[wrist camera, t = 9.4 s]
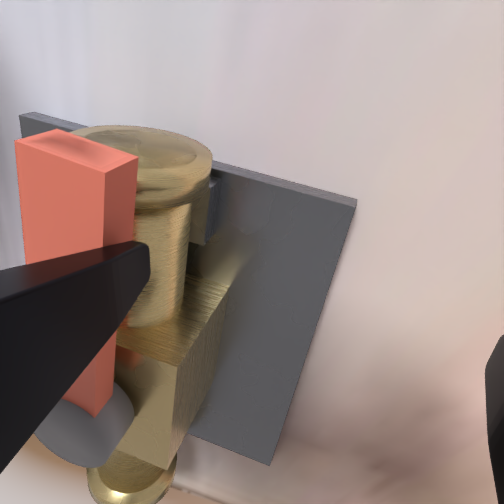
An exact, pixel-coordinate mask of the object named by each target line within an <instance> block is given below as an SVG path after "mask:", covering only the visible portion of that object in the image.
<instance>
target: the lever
mask: <svg viewBox="0 0 504 504" xmlns="http://www.w3.org/2000/svg"><path fill="white" fill-rule="evenodd" d="M14 142H15V153H16V164H17V174H18V185H19V196H20V207H21V218H22V228H23V239H24V250H25V261H26V264H31V263H35V262H39V261H44V260H48V259H52V258H57V257H61V256H65V255H70V254H74V253H79V252H83V251H87V250H92V249H96V248H100V247H105V246H109V245H114V244H118V243H122V242H127V241H131V240H132V237H133V224H134V211H135V198H136V185H137V173H138V160H139V157H138V156H135V155H132V154H129V153H126V152H123V151H120V150H117V149H115V148H112V147H109V146H106V145H103V144H100V143H97V142H94V141H91V140H89V139H86V138H83V137H80V136H77V135H74V134H71V133H68V132H65V131H62V130H60V129H55V130H51V131H47V132H44V133H40V134H37V135H33V136H29V137H26V138H22V139H19V140H15V141H14ZM116 333H117V330H116V331H115V333H114V334H113V335H112V336H111V338H110V339H109V340H108V341H107V343H106V344H105V345H104V346H103V348H102V349H101V350H100V351H99V352H98V354H97V355H96V356H95V357H94V359H93V360H92V361H91V362H90V364H89V365H88V366H87V367H86V369H85V370H84V371H83V372H82V373H81V375H80V376H79V377H78V378H77V380H76V381H75V382H74V383H73V385H72V386H71V387H70V388H69V390H68V391H67V392H66V393H65V395H64V396H63V397H62V398H61V399H60V401H59V402H58V403H57V404H56V406H55V407H54V408H53V409H52V411H51V412H50V413H49V414H48V416H47V417H46V418H45V419H44V420H43V422H42V423H41V424H40V425H39V427H38V428H37V429H36V430H35V432H34V434H35V435H36V437H37V438H38V439H39V440H40V441H41V442H42V443H43V444H44V445H45V446H46V447H47V448H48V449H49V450H50V451H52V452H53V453H54V454H56V455H57V456H59V457H61V458H62V459H64V460H66V461H68V462H70V463H72V464H75V465H78V466H82V467H87V468H96V467H100V466H102V465H104V464H105V463H106V461H107V460H108V458H109V457H110V455H111V454H112V452H113V451H114V449H115V448H116V447H117V445H118V444H119V442H120V441H121V439H122V438H123V436H124V435H125V433H126V432H127V430H128V429H129V427H130V426H131V424H132V422H133V420H134V408H133V405H132V403H131V401H130V399H129V397H128V396H127V395H126V393H125V392H124V391H123V390H122V388H121V387H120V386H118V385H117V384H116V383H115V382H114V365H115V349H116Z"/></svg>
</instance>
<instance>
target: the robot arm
mask: <svg viewBox="0 0 504 504" xmlns="http://www.w3.org/2000/svg"><path fill="white" fill-rule="evenodd" d="M150 274H151V268H150V250H149V246H148V245H147V244H145V243H142V242H138V241H133V240H131V241H127V242H122V243H118V244H114V245H109V246H105V247H100V248H96V249H92V250H87V251H83V252H79V253H74V254H70V255H65V256H61V257H57V258H52V259H48V260H44V261H39V262H35V263H31V264H26V265H22V266H17V267H13V268H9V269H4V270H0V474H1V472H2V471H3V470H4V469H5V467H6V466H7V465H8V464H9V463H10V461H11V460H12V459H13V458H14V456H15V455H16V454H17V453H18V451H19V450H20V449H21V448H22V446H23V445H24V444H25V443H26V441H27V440H28V439H29V438H30V436H31V435H32V434H33V433H34V432H35V430H36V429H37V428H38V427H39V425H40V424H41V423H42V422H43V420H44V419H45V418H46V417H47V416H48V414H49V413H50V412H51V411H52V409H53V408H54V407H55V406H56V404H57V403H58V402H59V401H60V399H61V398H62V397H63V396H64V395H65V393H66V392H67V391H68V390H69V388H70V387H71V386H72V385H73V383H74V382H75V381H76V380H77V378H78V377H79V376H80V375H81V373H82V372H83V371H84V370H85V369H86V367H87V366H88V365H89V364H90V362H91V361H92V360H93V359H94V357H95V356H96V355H97V354H98V352H99V351H100V350H101V349H102V348H103V346H104V345H105V344H106V343H107V341H108V340H109V339H110V338H111V336H112V335H113V334H114V333H115V331H116V330H117V329H118V327H119V326H120V324H121V323H122V322H123V320H124V319H125V317H126V315H127V314H128V312H129V311H130V309H131V308H132V306H133V305H134V303H135V301H136V300H137V298H138V297H139V295H140V294H141V292H142V290H143V289H144V287H145V286H146V284H147V283H148V281H149V278H150ZM485 390H486V413H487V434H488V445H489V452H490V458H491V464H492V470H493V476H494V481H495V487H496V493H497V499H498V504H504V335H502V336H501V337H500V339H499V340H498V342H497V344H496V346H495V348H494V350H493V352H492V354H491V356H490V358H489V360H488V362H487V365H486V368H485Z"/></svg>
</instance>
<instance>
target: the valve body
mask: <svg viewBox="0 0 504 504" xmlns="http://www.w3.org/2000/svg"><path fill="white" fill-rule="evenodd" d="M19 119H20V126H21V134H22V138H26V137H29V136H33V135H37V134H40V133H44V132H47V131H51V130H55V129H60V130H62V131H65V132H68V133H71V134H74V135H77V136H80V137H83V138H86V139H89V140H91V141H94V142H97V143H100V144H103V145H106V146H109V147H112V148H115V149H117V150H120V151H123V152H126V153H129V154H132V155H135V156H138V157H139V160H138V173H137V185H136V198H135V211H134V224H133V237H132V240H133V241H138V242H142V243H145V244H147V245H148V246H149V250H150V268H151V274H150V278H149V281H148V283H147V284H146V286H145V287H144V289H143V290H142V292H141V294H140V295H139V297H138V298H137V300H136V301H135V303H134V305H133V306H132V308H131V309H130V311H129V312H128V314H127V315H126V317H125V319H124V320H123V322H122V323H121V324H120V326H119V327H118V329H117V333H116V349H115V365H114V382H115V383H116V384H117V385H118V386H120V387H121V388H122V390H123V391H124V392H125V393H126V395H127V396H128V397H129V399H130V401H131V403H132V405H133V408H134V420H133V422H132V424H131V426H130V427H129V429H128V430H127V432H126V433H125V435H124V436H123V438H122V439H121V441H120V442H119V444H118V445H117V447H116V448H115V449H114V451H113V452H112V454H111V455H110V457H109V458H108V460H107V461H106V463H105V464H104V465H102V466H100V467H96V468H87V479H88V487H89V491H90V493H91V496H92V497H93V499H94V501H95V502H96V503H97V504H156V503H157V502H158V501H160V500H161V499H162V498H163V497H164V495H165V494H166V493H167V491H168V489H169V488H170V486H171V484H172V482H173V479H174V476H175V470H176V461H177V450H178V448H179V446H180V444H181V443H182V441H183V439H184V437H185V435H186V433H189V434H191V435H194V436H196V437H199V438H201V439H204V440H206V441H209V442H211V443H214V444H216V445H219V446H221V447H224V448H226V449H229V450H231V451H234V452H236V453H239V454H241V455H243V456H246V457H248V458H251V459H253V460H256V461H258V462H261V463H263V464H266V465H268V466H270V463H271V460H272V457H273V454H274V451H275V448H276V445H277V442H278V439H279V436H280V433H281V430H282V427H283V424H284V421H285V418H286V415H287V412H288V409H289V406H290V403H291V400H292V397H293V394H294V391H295V388H296V385H297V382H298V379H299V376H300V373H301V370H302V367H303V364H304V361H305V358H306V355H307V352H308V349H309V346H310V343H311V340H312V337H313V334H314V331H315V328H316V325H317V322H318V319H319V316H320V313H321V310H322V307H323V304H324V301H325V298H326V295H327V292H328V289H329V286H330V283H331V280H332V277H333V274H334V271H335V268H336V265H337V262H338V259H339V256H340V253H341V250H342V247H343V244H344V241H345V238H346V235H347V232H348V229H349V226H350V223H351V220H352V217H353V214H354V211H355V208H356V203H357V199H353V198H350V197H346V196H342V195H338V194H335V193H331V192H327V191H324V190H320V189H316V188H313V187H309V186H305V185H301V184H298V183H294V182H290V181H287V180H283V179H279V178H276V177H272V176H268V175H265V174H261V173H257V172H253V171H250V170H246V169H242V168H239V167H235V166H231V165H228V164H224V163H220V162H217V161H213V160H212V153H211V152H210V150H209V149H208V148H207V147H206V146H204V145H203V144H201V143H200V142H198V141H196V140H194V139H191V138H189V137H186V136H183V135H180V134H177V133H173V132H169V131H165V130H160V129H154V128H147V127H139V126H124V125H108V126H95V127H87V126H84V125H80V124H76V123H72V122H69V121H65V120H61V119H58V118H54V117H50V116H47V115H43V114H39V113H36V112H31V113H27V114H22V115H19Z"/></svg>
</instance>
